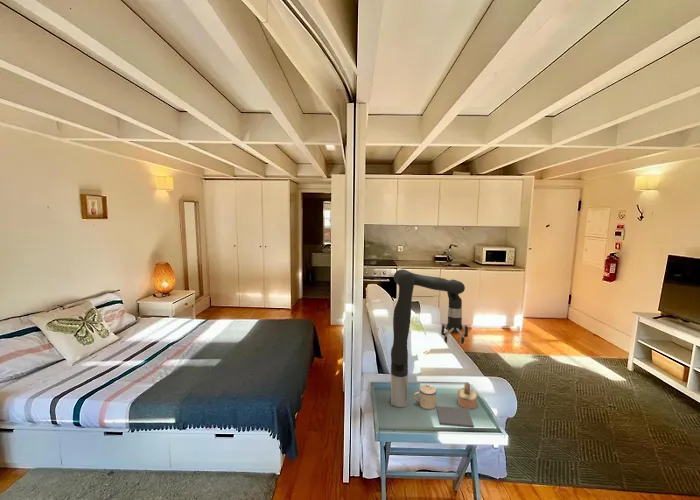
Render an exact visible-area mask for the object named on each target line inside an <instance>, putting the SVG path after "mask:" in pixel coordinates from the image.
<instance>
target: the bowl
mask: <svg viewBox="0 0 700 500" xmlns="http://www.w3.org/2000/svg"><path fill="white" fill-rule="evenodd" d="M477 401H478V397H477V398H476V399H475V400H472V401H469V400H464V399H462V398H460V397H459V396H458V395H457V404H458V406H459V407H460V408H468V410H474V409H475V408H477V407H478V405H477V404H478V402H477Z"/></svg>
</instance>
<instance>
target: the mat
mask: <svg viewBox="0 0 700 500" xmlns="http://www.w3.org/2000/svg"><path fill="white" fill-rule="evenodd" d="M436 411H437V412H436V413H437V415H438V423H439V425H442V426H451V427H452V426H453V427H454V426H455V427H464V428H474V427H475V425H474V422H473V420H472V417H471V415H470V411H469V409H468V408H463V407H451V406H443V405H442V406H440V405H436Z"/></svg>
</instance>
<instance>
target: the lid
mask: <svg viewBox="0 0 700 500" xmlns="http://www.w3.org/2000/svg"><path fill="white" fill-rule="evenodd" d="M463 387H464V388H460V389H458V390H457V397H458V396H459V397H460V398H462V399H464V400H469V401H472V400H475V399H476V398H477V399H478V394H477V392H476V391H475V390H473V389H471V384H470V383H469V382H465V383H464V386H463Z"/></svg>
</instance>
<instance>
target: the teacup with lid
mask: <svg viewBox="0 0 700 500" xmlns="http://www.w3.org/2000/svg"><path fill="white" fill-rule="evenodd" d="M418 394H419V398H417V397H416V395H418ZM413 397H414V399H415V400H416V401H417V402H419V405H420V407H422V409H425V410H433V409H435V408H437V402H436V401H437V389H436V388H435V386H432V385H430V384H429V383H426V384H423V385H421V386H419V391H415V392H414V394H413Z"/></svg>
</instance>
